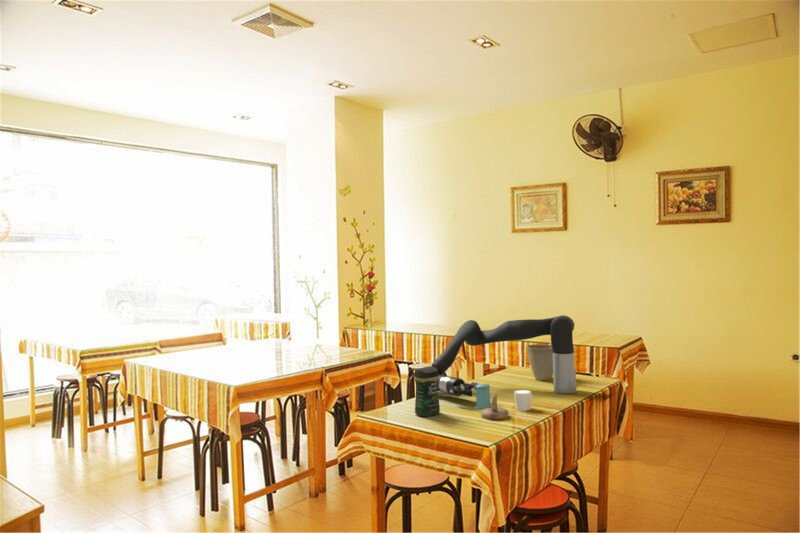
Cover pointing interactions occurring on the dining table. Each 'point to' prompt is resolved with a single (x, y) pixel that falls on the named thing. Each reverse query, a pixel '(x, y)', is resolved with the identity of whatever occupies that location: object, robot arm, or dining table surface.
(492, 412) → the post
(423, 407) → the coffee jar
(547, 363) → the plant pot
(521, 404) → the white cup
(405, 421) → the dining table surface
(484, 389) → the teal lidded canister
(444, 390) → the robot arm
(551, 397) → the dining table surface
